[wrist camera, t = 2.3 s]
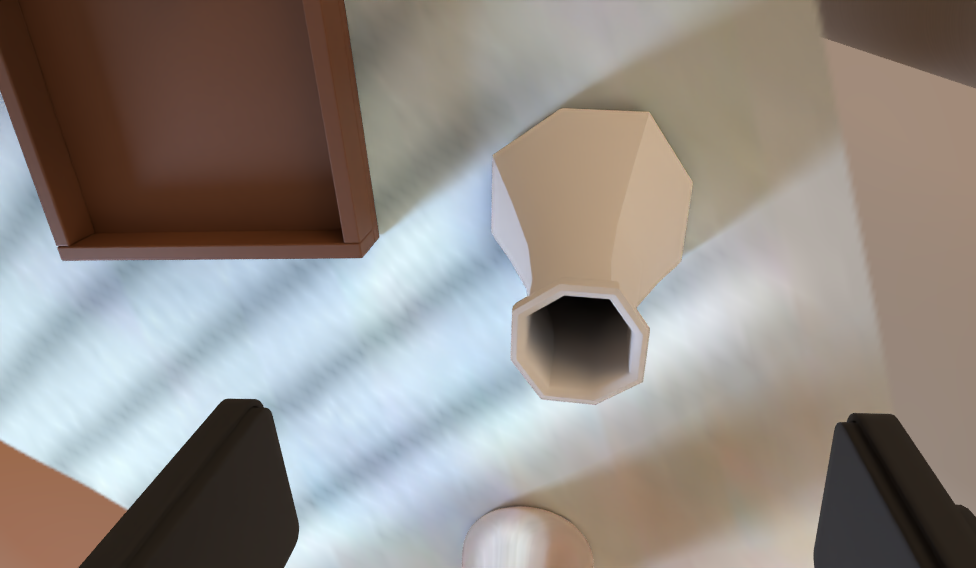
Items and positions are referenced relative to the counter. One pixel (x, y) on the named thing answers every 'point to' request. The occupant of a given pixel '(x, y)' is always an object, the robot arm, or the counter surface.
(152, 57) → the tray
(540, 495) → the counter surface
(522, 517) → the beer glass
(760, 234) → the counter surface
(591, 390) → the flask
